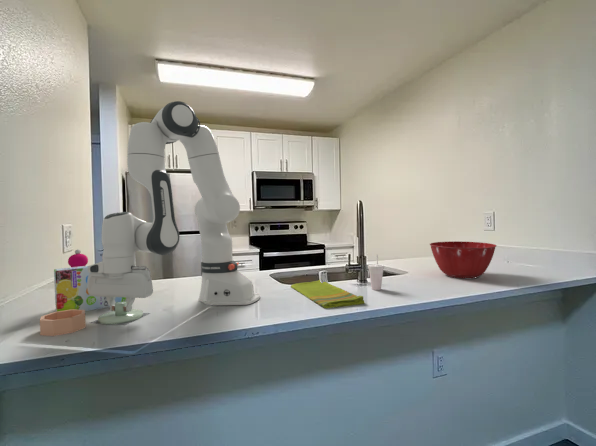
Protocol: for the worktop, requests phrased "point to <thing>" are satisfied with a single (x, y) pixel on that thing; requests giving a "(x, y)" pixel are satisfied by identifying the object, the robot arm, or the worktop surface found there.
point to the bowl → (62, 322)
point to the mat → (122, 323)
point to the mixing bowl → (463, 258)
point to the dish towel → (327, 294)
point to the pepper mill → (77, 259)
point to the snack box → (76, 291)
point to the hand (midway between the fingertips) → (121, 311)
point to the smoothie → (376, 275)
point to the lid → (120, 315)
